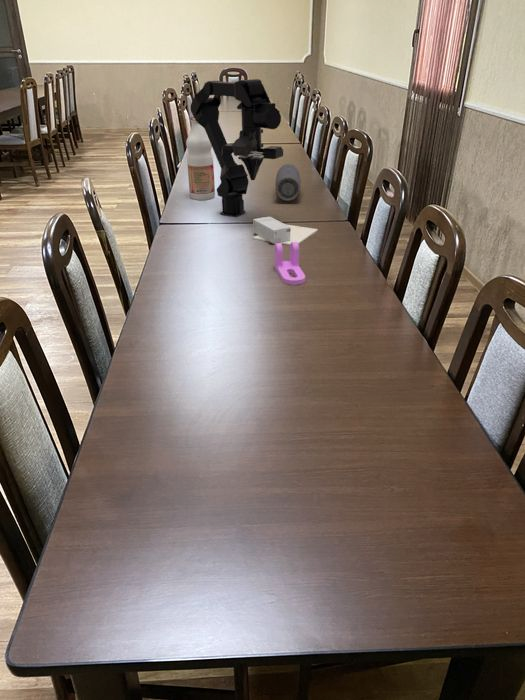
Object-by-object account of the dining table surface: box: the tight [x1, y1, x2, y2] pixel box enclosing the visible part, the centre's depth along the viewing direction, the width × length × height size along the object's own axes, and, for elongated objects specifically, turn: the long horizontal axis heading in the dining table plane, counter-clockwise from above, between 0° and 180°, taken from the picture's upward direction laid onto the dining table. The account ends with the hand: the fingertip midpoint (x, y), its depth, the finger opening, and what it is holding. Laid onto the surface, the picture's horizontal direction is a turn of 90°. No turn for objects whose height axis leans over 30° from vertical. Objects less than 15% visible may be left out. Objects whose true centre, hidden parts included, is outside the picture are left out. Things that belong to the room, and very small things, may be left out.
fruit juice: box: [185, 115, 216, 201], centre depth 193 cm, size 9×9×28 cm
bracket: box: [273, 242, 306, 286], centre depth 133 cm, size 13×6×7 cm, turn 11°
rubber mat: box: [252, 223, 319, 246], centre depth 162 cm, size 14×16×1 cm
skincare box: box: [252, 216, 291, 245], centre depth 159 cm, size 6×4×12 cm
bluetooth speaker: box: [275, 163, 302, 202], centre depth 199 cm, size 23×9×10 cm, turn 178°
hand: (252, 180), depth 168 cm, fingers closed
